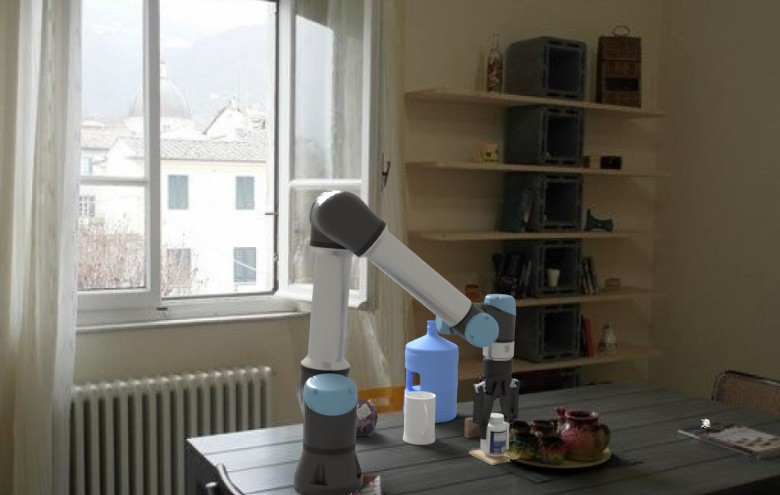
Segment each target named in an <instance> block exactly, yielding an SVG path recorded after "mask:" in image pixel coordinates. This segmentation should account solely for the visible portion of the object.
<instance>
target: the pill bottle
mask: <svg viewBox="0 0 780 495" xmlns="http://www.w3.org/2000/svg"><path fill="white" fill-rule="evenodd" d="M503 422H504V415H502V413H497V412H491V416H490V420H489V424H488V426H490V427H491V432H490V453H485V452H484V454H486V455H488V456H492V457H501V456H504V454H505V450H506V425H505V424H504V423H503Z"/></svg>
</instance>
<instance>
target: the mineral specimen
mask: <svg viewBox="0 0 780 495" xmlns="http://www.w3.org/2000/svg"><path fill="white" fill-rule="evenodd" d="M378 417H379V416H378V413H377V409H376V405H375V403H373V402H370V401H368V400H366V399H364V398H358V401H357V420H356V437H368V436H372V435H373V434H374V433H375V430H376V427H377V422H378V419H379V418H378Z"/></svg>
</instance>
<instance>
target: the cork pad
mask: <svg viewBox="0 0 780 495" xmlns="http://www.w3.org/2000/svg"><path fill="white" fill-rule="evenodd" d="M468 455H471V456H473V457H474V458H477V459H479V460H481V461H483V462H485V463H486V464H489V465H492V466H494V465H500V464H504V463H508V462H511V461H510V459H509V458H506V457H504V456H501V457H492V456H488V455H486V454H484V452H483V451H481V450H480V449H475V450H471V451H470V450H469V451H468Z"/></svg>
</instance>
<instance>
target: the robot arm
mask: <svg viewBox="0 0 780 495" xmlns="http://www.w3.org/2000/svg"><path fill="white" fill-rule="evenodd" d="M309 210H310V211H309V215H308V216H309V224H310V237H309V248H310V249H311V251H312V252H313V253H314V255H315V258H314V269H313V283H312V295H311V307H310V321H309V322H310V323H309V335H308V345H307V346H308V348H307V350H308V351H307V355H306V356H305V357H304V358H303V359H301V361H300V367H299V370H300V371H299V379H298V380H297V385H296V389H295V391H296V392H295V395H296V400H297V403H298V404H299V407H300V409H301V413H302V421H303V422H302V451H301V454H300V457H299V459H298V462H297V463H298V464H297V466H296V468H295V472H294V476H293V487H294V489H295V490H296V491H297V492H299V493H301V494H303V495H349V494H351V493H354V492H356V491H357V490H359V489H360V488H361V487H362V488H363V486H362V485H364V475H363V474H364V473H363V471H362V468H361V464H360V461H359V457H358V454H357V436H356V420H357V401H358V399H359V394H358V387H357V386H358V385H357V384H356V382H355V381H354V380H353V379H352V378H350V370H351V364H350V362H348V360H346V357H345V351H346V350H345V349H346V341H347V340H346V337H347V336H346V335H347V325H348V313H349V300H350V287H351V274H352V261H353V257H354V256H356V257H358V258H359V259H361V258H366V259H367V260H368V261H370V262H371V263H372V264H373V265H375V266H376V267H377V268H378V269H379V270H380V271H382V273H384V274H385V275H386V276H388V278H390V279H392V281H394V282H395V283H397V284H398V285H399V286H400V287H401V288H402V289H404V290H405V291H406V292H407V293H408V294H410V295H411V296H412V297H413V298H414V299H416V300H417V301H418V302H419V303H421V304H422V305H423V306H424V307H425V308H427V309H428V310H429V311H430V312H431V313H433V314H434V315H435V320H436V326H437V329H438V334H442V335H449V336H451V335H457V336H459V338H462V339H464V340H465V341H467V342H468V343H469V344H471V346H473V347H478V348H482V355H483V358H482V372H483V377H482V380H481V382H479V383H473V385H472V388H473V392H474V393H473V394H474V395H473V407H472V408H473V410H472V417H473V423H475V424H477V425H479V436H478V437H479V439H480V447H479V448H480V450H481V451H483V452H485V453H490V432H491V427H490V426H488V424H489V420H490V416H491V413H493V412H492V411H493V407H494V404H495V401H496V400H497V397H498V401H499V405H500V410H501V414H502V415H504V422H503V423H504V424H505V425H506V449H505V450H507V451H508V450H509V449H510V446H509V444H510V443H509V426H510V424H512V425H514V423H515V422H516V420H518V419H519V398H520V397H519V396H520V394H519V392H520V386H521V380H519V379H516V378H513V377H512V375H513V373H514V359H513V357H514V355H515V352H514V351H515V328H516V316H517V308H516V307H517V306H516V299H515V298H514V296H512V295H511V294H510V295H508V294H502V293H501V294H500V293H493V294H492V293H491V294H490V293H489V294H486V296H485V297H484V301H483V302H480V303H479V302H478V303H477V302H476V303H474V302H473V301H471V299H470V298H468V297H467V296H466V295H465V294H464V293H462V292H461V291H460V290H459V289H458V288H456V287H455V286H454V285H453V284H452V283H451V282H449V281H448V280H447V279H446V278H444V277H443V276H442V274H440V273H439V272H438V271H436V270H435V269H434V268H432V267H431V265H429V264H428V263H426V261H424V260H423V259H422V258H420V257H419V255H417V253H415V252H414V251H412V250H411V249H410V247H407V246H406V245H405V244H404V243H403V242H401V240H399V238H397V237H396V236H395V235H393V234H392V233H391V232H389V229H388V224H387V223H386V222H385V221H384V220H383V219H382V218H380V216H378V214H376V213H375V212H374V211H373V210H372V209H371V208H370V207H369V205H368V204H367V203H365V201H364V200H363V199H362V198H361V197H359V196H358V195H357V194H355V193H353V192H352V191H347V190H338V189H335V190H334V189H332V190H329V191H325V192H323V193H321V194H320V195H319V196H318V197H317V198H316V199H315V200H314V201H313V203H312V205H311V207H310V209H309ZM362 488H361V489H362ZM361 489H360V490H361ZM360 490H359V491H360ZM356 493H357V492H356ZM354 494H355V493H354ZM351 495H352V494H351Z"/></svg>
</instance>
